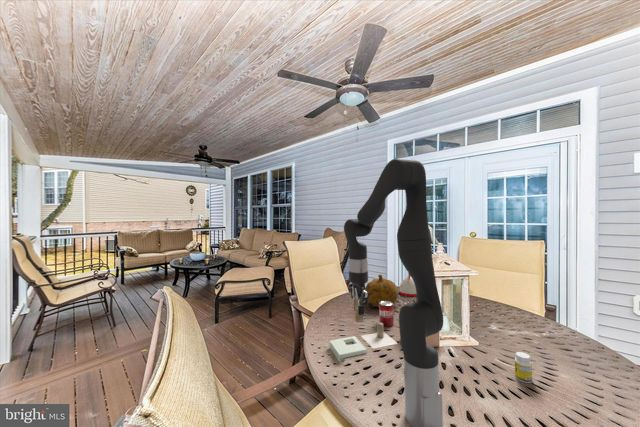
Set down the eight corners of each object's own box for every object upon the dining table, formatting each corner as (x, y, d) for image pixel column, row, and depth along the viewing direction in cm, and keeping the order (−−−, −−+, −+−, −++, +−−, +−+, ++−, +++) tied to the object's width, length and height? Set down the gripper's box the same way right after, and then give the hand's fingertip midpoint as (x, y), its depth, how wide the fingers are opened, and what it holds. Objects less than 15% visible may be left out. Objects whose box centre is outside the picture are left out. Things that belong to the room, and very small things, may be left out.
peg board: (367, 356, 107) (366, 349, 107) (339, 362, 103) (339, 354, 103) (354, 342, 118) (354, 336, 118) (329, 347, 115) (329, 340, 115)
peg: (364, 321, 102) (364, 296, 101) (357, 322, 101) (356, 297, 101) (361, 318, 105) (360, 293, 105) (353, 319, 104) (353, 294, 104)
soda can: (394, 330, 129) (393, 306, 129) (379, 329, 130) (378, 305, 130) (393, 323, 136) (392, 301, 136) (379, 323, 137) (378, 300, 137)
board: (398, 346, 113) (397, 329, 113) (373, 352, 110) (372, 334, 110) (383, 334, 125) (383, 319, 125) (360, 339, 121) (360, 323, 121)
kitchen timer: (399, 295, 180) (398, 274, 179) (399, 289, 193) (399, 269, 193) (420, 297, 175) (420, 275, 175) (419, 290, 188) (419, 270, 188)
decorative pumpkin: (403, 300, 167) (400, 270, 165) (393, 315, 149) (390, 281, 148) (373, 297, 177) (370, 268, 176) (361, 310, 160) (357, 278, 159)
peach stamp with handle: (439, 348, 110) (438, 314, 110) (417, 353, 107) (416, 318, 107) (422, 337, 121) (421, 305, 121) (401, 341, 118) (400, 309, 118)
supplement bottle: (515, 372, 93) (514, 349, 93) (532, 378, 90) (531, 353, 90) (514, 379, 89) (514, 355, 89) (532, 385, 86) (531, 360, 86)
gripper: (342, 266, 108) (343, 307, 108) (357, 274, 94) (358, 321, 95) (359, 264, 110) (359, 305, 111) (375, 272, 97) (376, 318, 97)
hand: (359, 312), depth 103 cm, fingers closed on peg, 3 cm apart
